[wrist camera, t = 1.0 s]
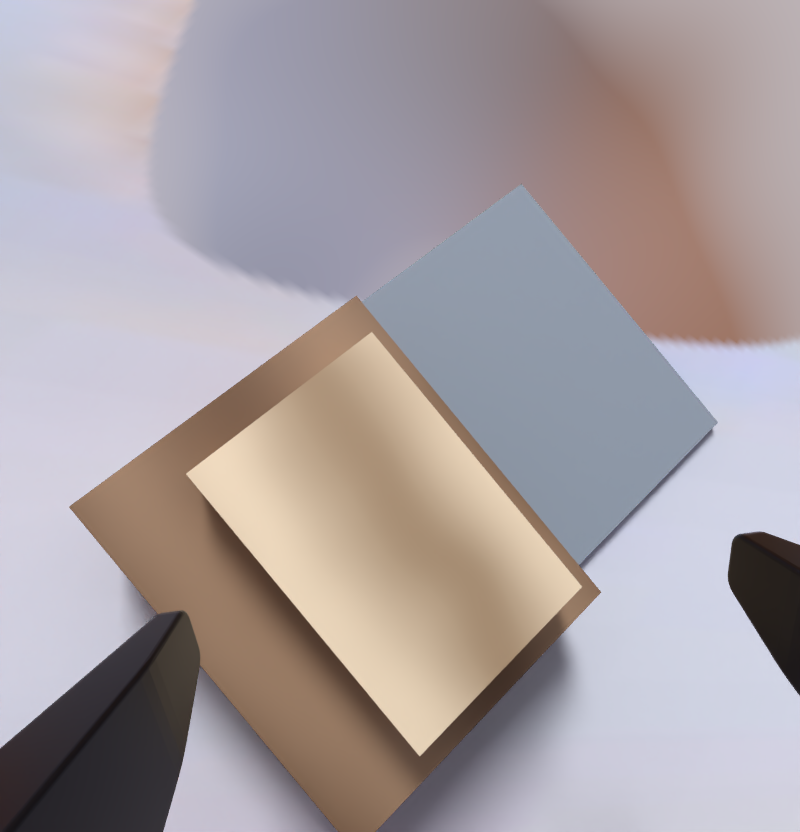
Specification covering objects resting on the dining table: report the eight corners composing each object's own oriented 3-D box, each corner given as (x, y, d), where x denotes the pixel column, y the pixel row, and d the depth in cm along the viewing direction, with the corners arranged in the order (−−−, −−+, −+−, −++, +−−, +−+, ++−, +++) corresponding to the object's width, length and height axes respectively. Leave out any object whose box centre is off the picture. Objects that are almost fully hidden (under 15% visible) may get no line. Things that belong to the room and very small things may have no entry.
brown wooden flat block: (341, 780, 19) (355, 852, 15) (115, 506, 19) (69, 506, 15) (543, 575, 21) (600, 592, 17) (344, 334, 21) (356, 295, 17)
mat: (552, 586, 21) (557, 587, 21) (335, 323, 21) (336, 320, 21) (710, 423, 24) (717, 422, 23) (517, 189, 23) (521, 183, 23)
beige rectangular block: (403, 724, 15) (419, 756, 14) (199, 477, 15) (185, 473, 13) (548, 577, 17) (582, 586, 15) (362, 351, 17) (371, 331, 15)
